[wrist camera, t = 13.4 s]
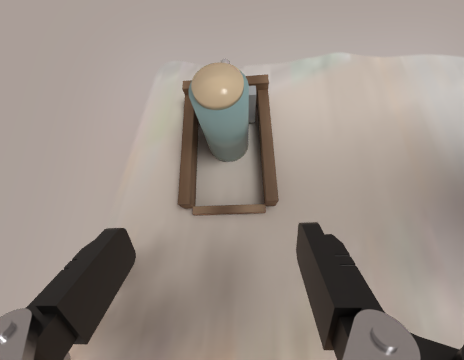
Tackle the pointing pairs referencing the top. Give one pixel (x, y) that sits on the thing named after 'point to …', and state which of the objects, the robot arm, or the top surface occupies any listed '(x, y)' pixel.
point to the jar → (222, 109)
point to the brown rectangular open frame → (190, 156)
